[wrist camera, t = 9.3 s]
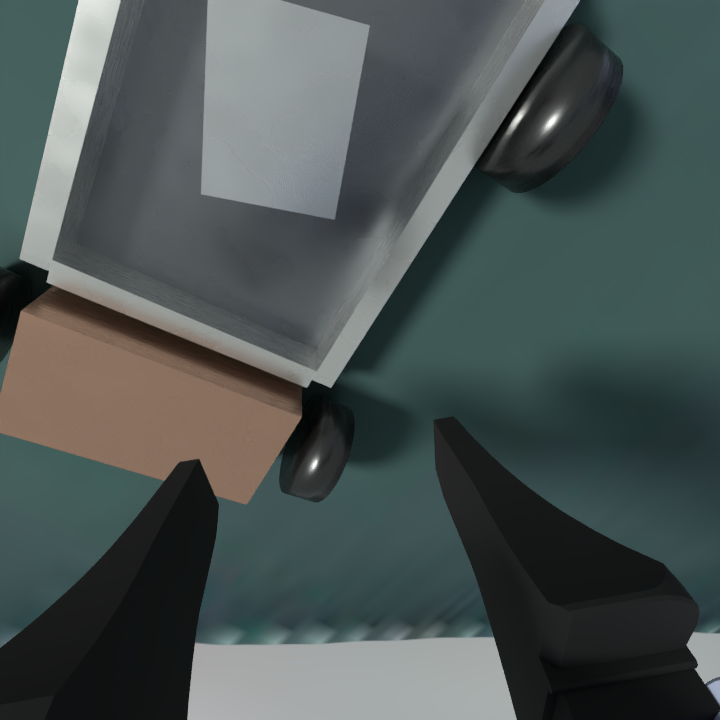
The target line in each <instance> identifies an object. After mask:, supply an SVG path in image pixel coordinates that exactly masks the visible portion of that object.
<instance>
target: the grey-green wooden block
mask: <svg viewBox="0 0 720 720" xmlns="http://www.w3.org/2000/svg"><path fill="white" fill-rule="evenodd" d="M369 28H370V25H367V24H363V23H360V22H356V21H352V20H349V19H345V18H342V17H338V16H335V15H331V14H328V13H324V12H321V11H317V10H314V9H310V8H306V7H303V6H299V5H296V4H292V3H289V2H285V1H282V0H208V6H207V35H206V64H205V92H204V121H203V150H202V179H201V194H202V195H208V196H213V197H218V198H223V199H229V200H234V201H239V202H244V203H249V204H255V205H260V206H265V207H270V208H276V209H281V210H286V211H291V212H296V213H302V214H307V215H312V216H317V217H323V218H328V219H333V220H335V215H336V210H337V204H338V199H339V193H340V188H341V182H342V177H343V171H344V166H345V160H346V155H347V149H348V143H349V138H350V132H351V127H352V121H353V116H354V110H355V105H356V99H357V94H358V88H359V83H360V77H361V72H362V66H363V61H364V55H365V50H366V44H367V39H368V33H369Z"/></svg>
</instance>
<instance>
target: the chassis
mask: <svg viewBox="0 0 720 720" xmlns="http://www.w3.org/2000/svg"><path fill="white" fill-rule="evenodd" d="M282 1H285V2H289V3H292V4H296V5H299V6H303V7H306V8H310V9H314V10H317V11H321V12H324V13H328V14H331V15H335V16H338V17H342V18H345V19H349V20H352V21H356V22H360V23H363V24H367V25H370V28H369V33H368V39H367V44H366V50H365V55H364V61H363V66H362V72H361V77H360V83H359V88H358V94H357V99H356V105H355V110H354V116H353V121H352V127H351V132H350V138H349V143H348V149H347V155H346V160H345V166H344V171H343V177H342V182H341V188H340V193H339V199H338V204H337V210H336V215H335V220H333V219H328V218H323V217H317V216H312V215H307V214H302V213H296V212H291V211H286V210H281V209H276V208H270V207H265V206H260V205H255V204H249V203H244V202H239V201H234V200H229V199H223V198H218V197H213V196H208V195H202V194H201V179H202V150H203V121H204V92H205V64H206V35H207V6H208V0H79V2H78V6H77V11H76V15H75V19H74V24H73V28H72V32H71V37H70V41H69V45H68V50H67V54H66V59H65V63H64V67H63V72H62V76H61V80H60V85H59V89H58V93H57V98H56V102H55V106H54V111H53V115H52V119H51V124H50V128H49V132H48V137H47V141H46V145H45V150H44V154H43V159H42V163H41V167H40V172H39V176H38V180H37V185H36V189H35V193H34V198H33V202H32V206H31V211H30V215H29V219H28V224H27V228H26V232H25V237H24V241H23V246H22V250H21V254H20V259H21V260H23V261H26V262H28V263H30V264H33V265H35V266H38V267H40V268H42V269H45V270H47V271H49V274H48V278H47V281H46V283H49V284H51V285H53V286H52V287H51V288H50V289H48V290H47V291H46V292H44V293H43V294H42V295H41V296H39V297H38V298H37V299H35V300H34V301H33V302H32V303H30V304H29V301H30V284H29V281H28V279H27V278H26V277H24V276H22V275H19V274H17V273H14V272H12V271H9V270H7V269H4V268H2V267H0V363H1V361H2V360H3V358H4V357H5V356H6V354H7V353H8V351H9V349H10V348H11V346H12V349H11V353H10V357H9V362H8V366H7V370H6V374H5V378H4V382H3V386H2V390H1V394H0V433H3V434H6V435H10V436H13V437H16V438H20V439H23V440H27V441H30V442H34V443H37V444H40V445H44V446H47V447H51V448H54V449H58V450H61V451H64V452H68V453H71V454H75V455H78V456H82V457H85V458H88V459H92V460H95V461H99V462H102V463H106V464H109V465H112V466H116V467H119V468H123V469H126V470H130V471H133V472H136V473H140V474H143V475H147V476H150V477H154V478H157V479H160V480H164V481H165V480H166V478H167V477H168V476H169V474H170V473H171V472H172V471H173V469H174V468H175V467H176V465H177V464H178V463H179V462H182V461H188V460H194V459H200V462H201V464H202V466H203V469H204V471H205V473H206V476H207V478H208V480H209V483H210V485H211V487H212V490H213V492H214V494H215V496H219V497H222V498H225V499H229V500H232V501H236V502H239V503H243V504H246V505H247V504H248V502H249V500H250V499H251V497H252V496H253V494H254V492H255V491H256V489H257V488H258V486H259V484H260V483H261V481H262V480H263V478H264V477H265V475H266V473H267V472H268V470H269V469H270V467H271V465H272V464H273V462H274V461H275V459H276V457H277V456H278V454H279V453H280V451H281V450H282V448H283V446H284V445H285V443H286V442H287V444H286V447H285V451H284V454H283V458H282V462H281V468H280V476H279V483H280V488H281V491H282V492H283V493H286V494H289V495H292V496H295V497H299V498H302V499H305V500H308V501H312V502H316V503H317V502H320V501H322V500H323V499H325V498H326V497H327V496H328V495H329V494H330V492H331V491H332V490H333V488H334V487H335V485H336V484H337V482H338V480H339V478H340V476H341V474H342V472H343V470H344V468H345V465H346V462H347V460H348V457H349V454H350V450H351V446H352V441H353V436H354V416H353V412H352V410H351V409H350V408H349V407H347V406H344V405H342V404H339V403H337V402H334V401H332V400H329V399H327V398H324V397H322V396H315V397H314V398H312V399H311V400H310V401H309V402H308V403H307V405H306V406H305V407H304V409H303V410H302V386H303V387H306V388H307V387H308V385H309V384H310V382H311V380H313V381H316V382H318V383H320V384H323V385H325V386H328V387H330V388H331V387H332V386H333V384H334V383H335V381H336V379H337V378H338V376H339V375H340V373H341V372H342V370H343V369H344V367H345V365H346V364H347V362H348V361H349V359H350V358H351V356H352V355H353V353H354V351H355V350H356V348H357V347H358V345H359V344H360V342H361V341H362V339H363V337H364V336H365V334H366V333H367V331H368V330H369V328H370V327H371V325H372V323H373V322H374V320H375V319H376V317H377V316H378V314H379V313H380V311H381V309H382V308H383V306H384V305H385V303H386V302H387V300H388V299H389V297H390V295H391V294H392V292H393V291H394V289H395V288H396V286H397V285H398V283H399V281H400V280H401V278H402V277H403V275H404V274H405V272H406V271H407V269H408V267H409V266H410V264H411V263H412V261H413V260H414V258H415V257H416V255H417V253H418V252H419V250H420V249H421V247H422V246H423V244H424V243H425V241H426V239H427V238H428V236H429V235H430V233H431V232H432V230H433V229H434V227H435V225H436V224H437V222H438V221H439V219H440V218H441V216H442V215H443V213H444V211H445V210H446V208H447V207H448V205H449V204H450V202H451V201H452V199H453V197H454V196H455V194H456V193H457V191H458V190H459V188H460V187H461V185H462V184H463V182H464V180H465V179H466V177H467V176H468V174H469V173H470V171H471V170H472V168H473V166H474V165H475V166H476V167H477V168H478V169H479V170H481V171H482V172H484V173H485V174H487V175H488V176H490V177H491V178H492V179H494V180H495V181H497V182H498V183H500V184H501V185H503V186H504V187H506V188H507V189H508V190H510V191H511V192H515V193H522V192H526V191H529V190H532V189H534V188H536V187H538V186H540V185H541V184H543V183H545V182H546V181H548V180H549V179H550V178H552V177H553V176H554V175H556V174H557V173H558V172H559V171H561V170H562V169H563V168H564V167H565V166H566V165H567V164H568V163H569V162H570V161H571V160H572V159H573V158H574V157H575V156H576V155H577V154H578V153H579V152H580V151H581V150H582V148H583V147H584V146H585V145H586V144H587V143H588V141H589V140H590V139H591V137H592V136H593V135H594V134H595V132H596V131H597V129H598V128H599V126H600V125H601V124H602V122H603V120H604V119H605V117H606V115H607V114H608V112H609V110H610V108H611V107H612V105H613V103H614V101H615V98H616V96H617V94H618V91H619V88H620V85H621V81H622V77H623V65H622V61H621V60H620V58H619V57H618V56H617V55H616V54H615V53H613V52H612V51H611V50H610V49H609V48H608V47H607V46H606V45H605V44H604V43H603V42H602V41H601V40H599V39H598V38H597V37H596V36H595V35H594V34H593V33H592V32H591V31H590V30H589V29H588V28H587V27H585V26H584V25H583V24H581V23H574V24H571V25H568V26H566V27H564V28H563V26H564V25H565V23H566V22H567V20H568V19H569V17H570V16H571V14H572V12H573V11H574V9H575V8H576V6H577V5H578V3H579V2H580V0H282ZM12 344H13V345H12ZM288 438H289V439H288ZM287 440H288V441H287Z"/></svg>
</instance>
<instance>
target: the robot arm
mask: <svg viewBox="0 0 720 720" xmlns="http://www.w3.org/2000/svg"><path fill="white" fill-rule="evenodd" d="M434 442H435V464H436V471H437V475H438V478H439V482H440V485H441V489H442V492H443V496H444V499H445V501H446V504H447V506H448V509H449V511H450V514H451V516H452V519H453V521H454V524H455V526H456V528H457V531H458V533H459V536H460V538H461V540H462V543H463V545H464V548H465V550H466V553H467V555H468V557H469V560H470V562H471V565H472V568H473V570H474V573H475V576H476V579H477V582H478V585H479V588H480V592H481V595H482V598H483V601H484V605H485V608H486V611H487V615H488V618H489V621H490V625H491V628H492V632H493V635H494V638H495V642H496V645H497V649H498V652H499V656H500V659H501V663H502V667H503V670H504V674H505V677H506V681H507V684H508V688H509V691H510V695H511V699H512V703H513V707H514V710H515V714H516V718H517V720H720V677H718V678H715V679H713V680H711V681H709V682H707V683H706V684H704V682H703V681H702V679H701V678H700V676H699V675H698V673H697V672H696V670H695V669H694V668H697V666H698V664H697V661H696V659H695V658H694V656H693V655H692V654H691V652H690V650H689V649H688V648H687V646H686V644H687V643H688V641H689V639H690V637H691V635H692V633H693V631H694V629H695V627H696V625H697V622H698V618H699V614H700V612H699V608H698V605H697V603H696V602H695V601H694V600H693V598H692V597H691V596H690V594H689V593H688V592H687V590H686V589H685V588H684V586H683V585H682V584H681V583H680V582H679V580H678V579H677V578H676V577H675V576H674V575H673V574H672V573H671V572H670V571H669V570H668V568H667V567H666V566H665V565H664V564H663V563H661V562H659V561H656V560H654V559H652V558H650V557H648V556H645V555H643V554H641V553H639V552H637V551H634V550H632V549H630V548H628V547H625V546H623V545H621V544H619V543H617V542H615V541H613V540H611V539H610V538H608V537H606V536H604V535H602V534H600V533H598V532H596V531H594V530H593V529H591V528H589V527H587V526H586V525H584V524H582V523H581V522H579V521H577V520H576V519H574V518H572V517H571V516H569V515H567V514H566V513H564V512H562V511H561V510H559V509H558V508H556V507H555V506H553V505H552V504H550V503H549V502H548V501H546V500H545V499H543V498H542V497H541V496H539V495H538V494H536V493H535V492H534V491H532V490H531V489H530V488H528V487H527V486H526V485H525V484H523V483H522V482H521V481H520V480H518V479H517V478H516V477H515V476H514V475H512V474H511V473H510V472H509V471H508V470H507V469H505V468H504V467H503V466H502V465H501V464H500V463H499V462H498V461H497V460H496V459H495V458H493V457H492V456H491V455H490V454H489V453H488V452H487V451H486V450H485V449H484V448H483V447H482V446H481V445H480V444H479V443H478V442H477V441H476V440H475V439H474V438H473V437H472V436H471V435H470V434H469V433H468V432H467V430H466V429H465V428H464V427H463V426H462V425H461V424H460V423H459V421H458V420H457V419H456V418H454V417H449V418H443V419H437V420H434ZM218 509H219V504H218V501H217V499H216V497H215V494H214V492H213V490H212V487H211V485H210V483H209V480H208V478H207V476H206V473H205V471H204V469H203V466H202V464H201V462H200V459H194V460H188V461H182V462H179V463H178V464H177V465H176V467H175V468H174V469H173V471H172V472H171V473H170V474H169V476H168V477H167V478H166V480H165V481H164V482H163V484H162V485H161V486H160V488H159V489H158V490H157V492H156V493H155V494H154V495H153V497H152V498H151V499H150V501H149V502H148V503H147V504H146V506H145V507H144V508H143V510H142V511H141V512H140V513H139V515H138V516H137V517H136V518H135V520H134V521H133V522H132V523H131V524H130V526H129V527H128V528H127V529H126V530H125V531H124V533H123V534H122V535H121V536H120V537H119V538H118V540H117V541H116V542H115V543H114V544H113V545H112V547H111V548H110V549H109V550H108V551H107V552H106V553H105V554H104V555H103V556H102V558H101V559H100V560H99V561H98V562H97V563H96V564H95V565H94V566H93V567H92V568H91V569H90V570H89V571H88V572H87V573H86V574H85V575H84V576H83V577H82V578H81V579H80V580H79V581H78V582H77V583H76V584H75V585H74V586H73V587H71V588H70V589H69V590H68V591H67V592H66V593H65V594H64V595H63V596H62V597H60V598H59V599H58V600H57V601H56V602H55V603H54V604H53V605H52V606H50V607H49V608H48V609H47V610H46V611H45V612H44V613H43V614H42V615H40V616H39V617H38V618H37V619H36V620H34V621H33V622H32V623H31V624H30V625H28V626H27V627H26V628H25V629H24V630H22V631H21V632H20V633H19V634H17V635H16V636H15V637H14V638H12V639H11V640H10V641H9V642H7V643H6V644H5V645H3V646H2V647H1V648H0V720H187V714H188V701H189V691H190V680H191V671H192V661H193V653H194V645H195V637H196V629H197V623H198V617H199V612H200V607H201V603H202V598H203V594H204V589H205V585H206V580H207V576H208V571H209V567H210V563H211V558H212V553H213V549H214V544H215V539H216V532H217V522H218Z"/></svg>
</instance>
